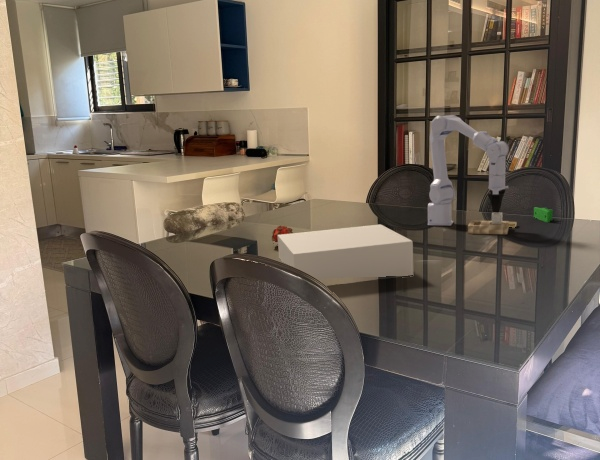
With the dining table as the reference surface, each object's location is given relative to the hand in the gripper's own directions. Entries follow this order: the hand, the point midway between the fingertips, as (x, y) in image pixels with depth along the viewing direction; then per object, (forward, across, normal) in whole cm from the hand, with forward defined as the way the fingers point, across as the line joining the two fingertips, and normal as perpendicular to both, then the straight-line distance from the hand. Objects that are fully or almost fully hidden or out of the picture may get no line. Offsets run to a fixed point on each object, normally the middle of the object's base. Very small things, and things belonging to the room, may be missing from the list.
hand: (496, 210), depth 213 cm
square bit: (+8, 0, 0) cm, 8 cm away
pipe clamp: (+8, +24, -17) cm, 31 cm away
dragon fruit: (+8, -35, +73) cm, 81 cm away
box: (+9, -62, +41) cm, 75 cm away
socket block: (+8, 0, +3) cm, 9 cm away
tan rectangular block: (+8, +9, -4) cm, 13 cm away
